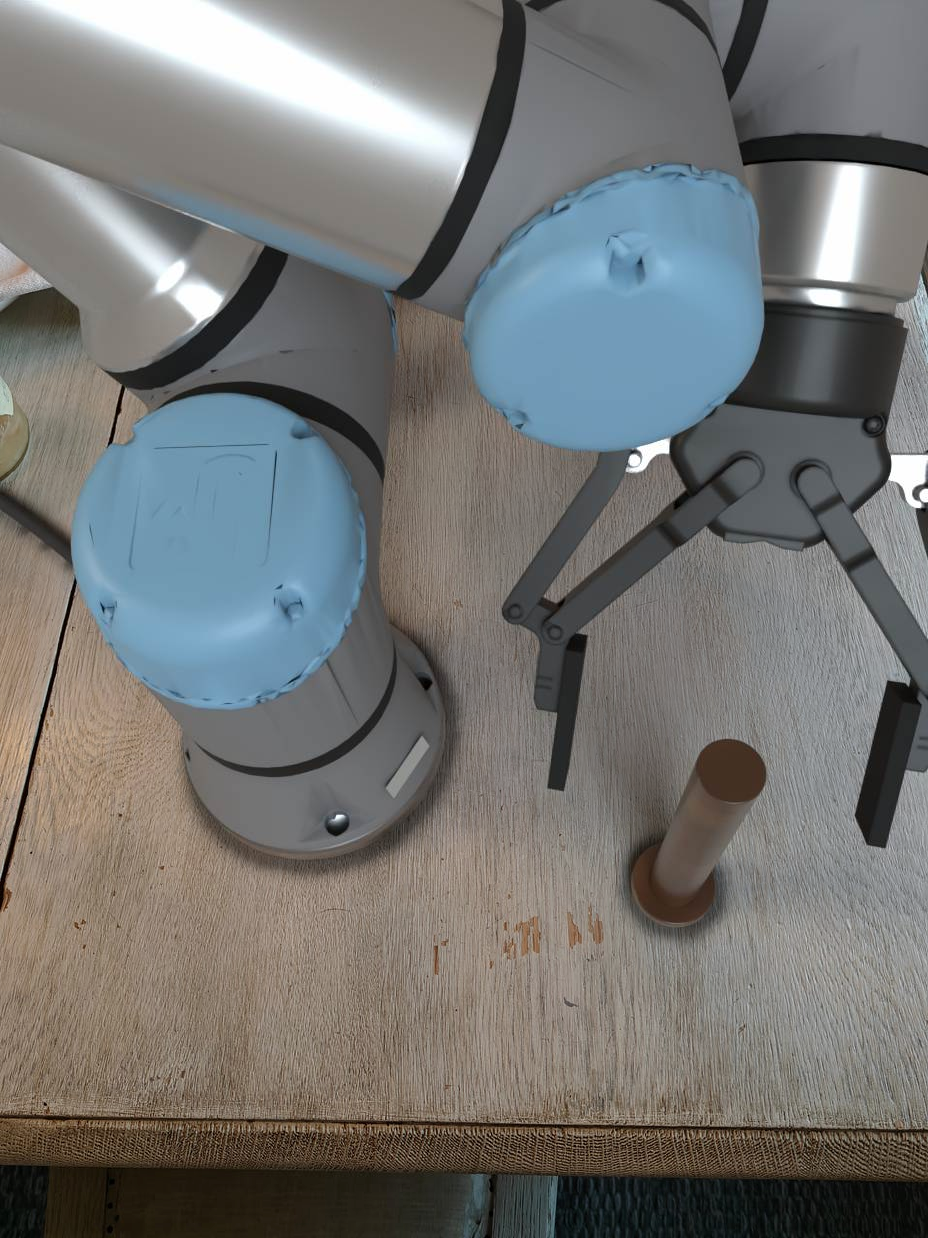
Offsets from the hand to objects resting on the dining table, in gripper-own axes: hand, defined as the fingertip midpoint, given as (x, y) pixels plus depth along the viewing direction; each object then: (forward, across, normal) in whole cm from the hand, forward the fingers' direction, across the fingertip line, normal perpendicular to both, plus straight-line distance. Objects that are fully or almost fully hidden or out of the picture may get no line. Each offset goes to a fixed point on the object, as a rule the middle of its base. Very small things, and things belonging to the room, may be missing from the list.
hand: (709, 804), depth 43 cm
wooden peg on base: (+8, 0, -7) cm, 11 cm away
